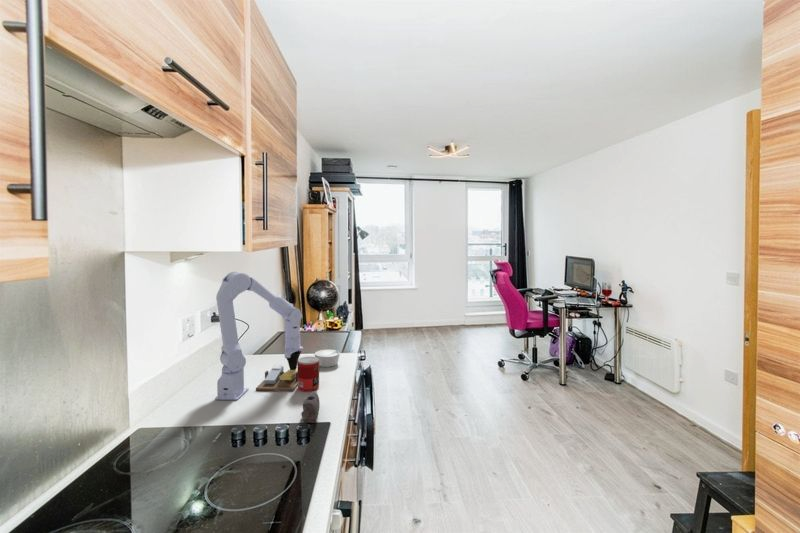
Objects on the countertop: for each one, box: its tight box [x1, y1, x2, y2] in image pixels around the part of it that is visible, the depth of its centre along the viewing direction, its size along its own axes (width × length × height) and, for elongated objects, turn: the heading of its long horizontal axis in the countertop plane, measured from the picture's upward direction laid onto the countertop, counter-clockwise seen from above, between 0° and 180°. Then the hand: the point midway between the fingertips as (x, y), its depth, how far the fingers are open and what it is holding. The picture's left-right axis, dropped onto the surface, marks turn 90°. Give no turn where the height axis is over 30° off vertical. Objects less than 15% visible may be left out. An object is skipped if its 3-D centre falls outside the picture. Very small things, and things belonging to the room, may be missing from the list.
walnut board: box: [255, 370, 298, 392], centre depth 141 cm, size 16×14×4 cm
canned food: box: [297, 356, 320, 393], centre depth 136 cm, size 8×8×11 cm
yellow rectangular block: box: [280, 368, 298, 380], centre depth 141 cm, size 10×4×2 cm, turn 0°
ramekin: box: [314, 349, 341, 368], centre depth 164 cm, size 11×11×5 cm
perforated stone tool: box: [301, 391, 321, 424], centre depth 115 cm, size 15×5×7 cm, turn 7°
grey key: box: [263, 364, 284, 384], centre depth 141 cm, size 10×4×2 cm, turn 179°
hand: (293, 369), depth 145 cm, fingers closed, pressing on yellow rectangular block
